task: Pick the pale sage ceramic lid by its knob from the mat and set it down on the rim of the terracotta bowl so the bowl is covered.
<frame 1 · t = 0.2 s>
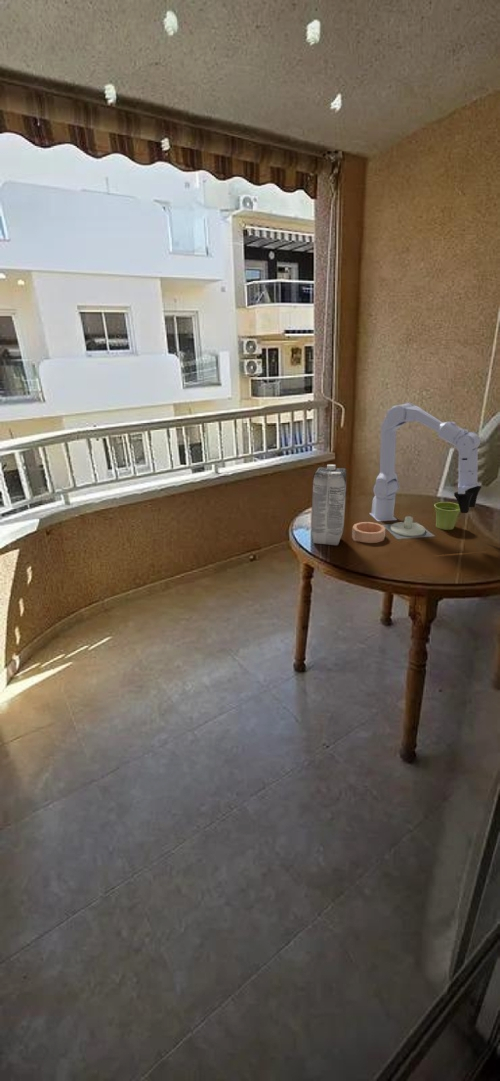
hand: (467, 509, 149), 11 cm above the table, tool pointing down, fingers open, 7 cm apart
mat: (407, 531, 160), on the table
lid: (407, 530, 160), point 1 cm above the table, touching mat
bowl: (368, 537, 156), on the table
plant pot: (444, 528, 163), on the table
juice carton: (327, 541, 155), on the table
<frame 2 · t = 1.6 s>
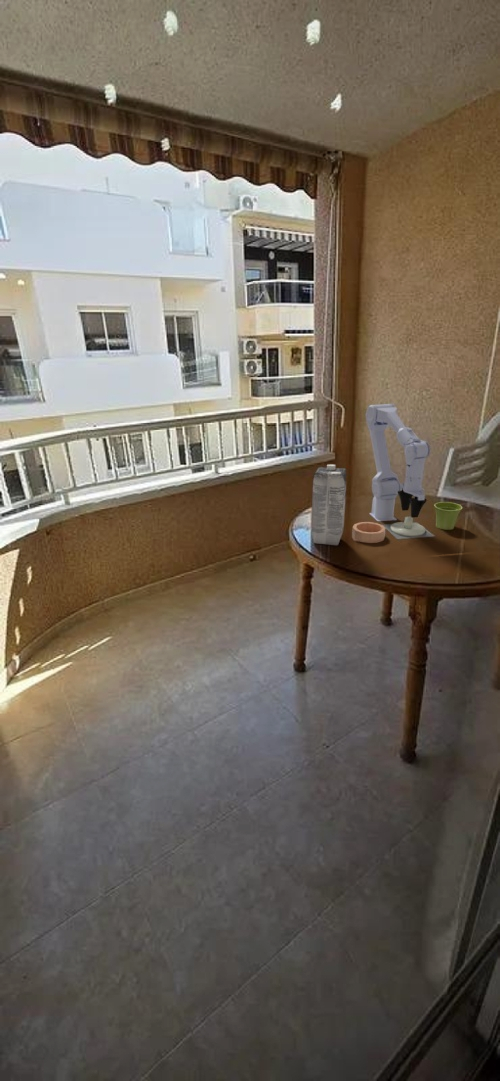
hand: (409, 513, 157), 7 cm above the table, tool pointing down, fingers open, 7 cm apart
nothing on the table moved.
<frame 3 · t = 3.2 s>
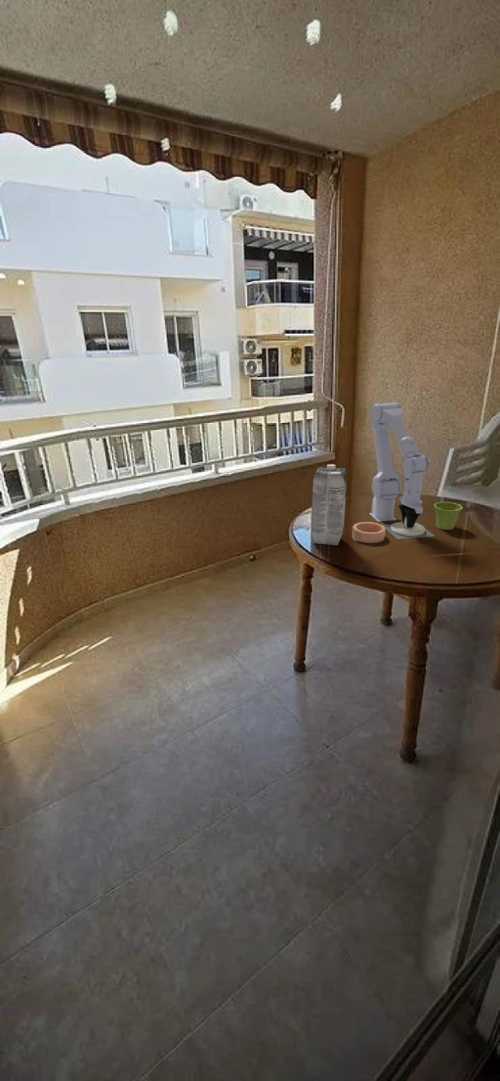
hand: (408, 525, 159), 2 cm above the table, tool pointing down, fingers closed on lid, 3 cm apart
lid: (407, 530, 160), point 1 cm above the table, touching gripper, mat
everything else where it was.
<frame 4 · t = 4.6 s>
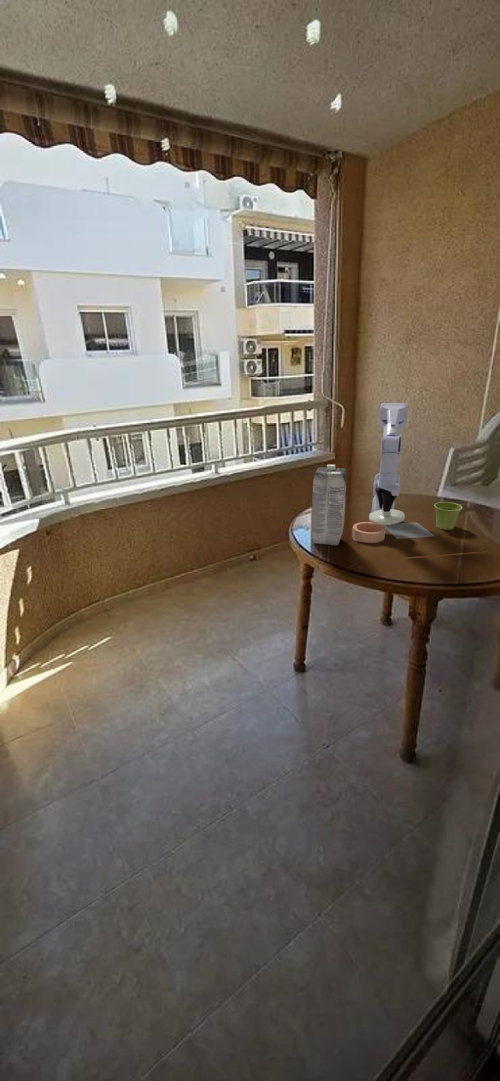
hand: (384, 509, 153), 10 cm above the table, tool pointing down, fingers closed on lid, 3 cm apart
lid: (386, 518, 155), point 7 cm above the table, tilted 7°, touching gripper
everything else where it was.
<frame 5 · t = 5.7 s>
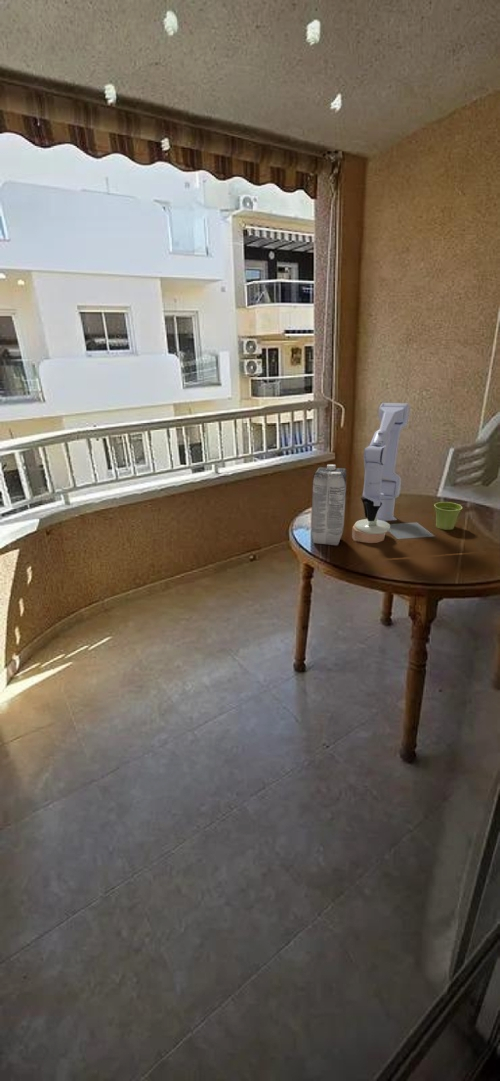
hand: (369, 519, 153), 7 cm above the table, tool pointing down, fingers closed on lid, 3 cm apart
lid: (372, 527, 154), point 4 cm above the table, touching bowl, gripper
everything else where it was.
when the fingers open (7 cm above the table, at t = 6.1 s): lid stays where it is, resting on bowl.
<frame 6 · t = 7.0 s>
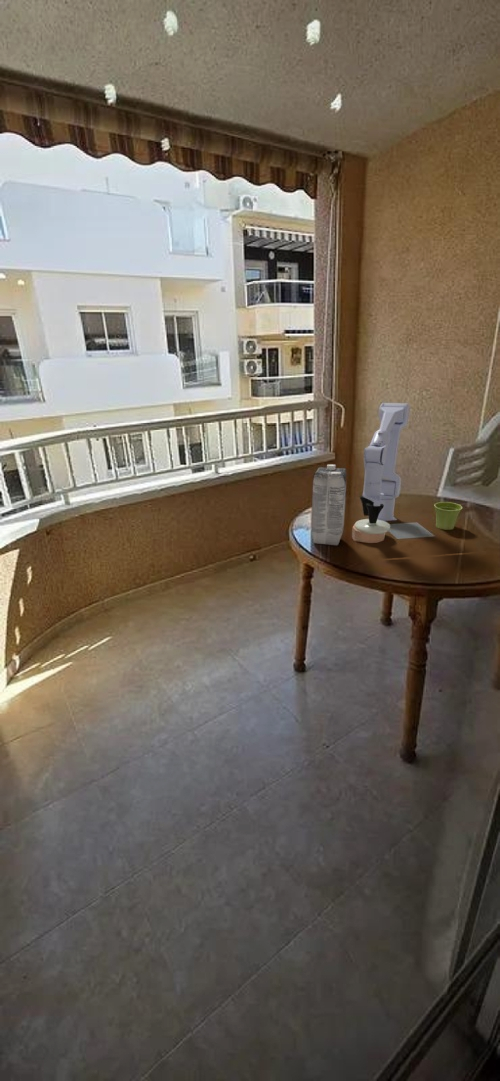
hand: (369, 519, 153), 7 cm above the table, tool pointing down, fingers open, 7 cm apart
lid: (372, 527, 154), point 4 cm above the table, touching bowl
everything else where it was.
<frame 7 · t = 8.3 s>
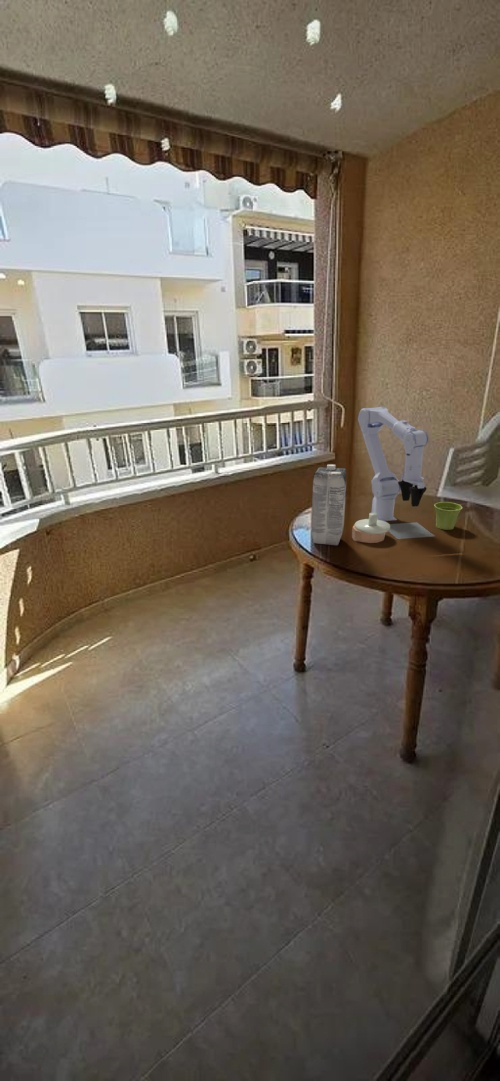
hand: (410, 503, 158), 10 cm above the table, tool pointing down, fingers open, 7 cm apart
nothing on the table moved.
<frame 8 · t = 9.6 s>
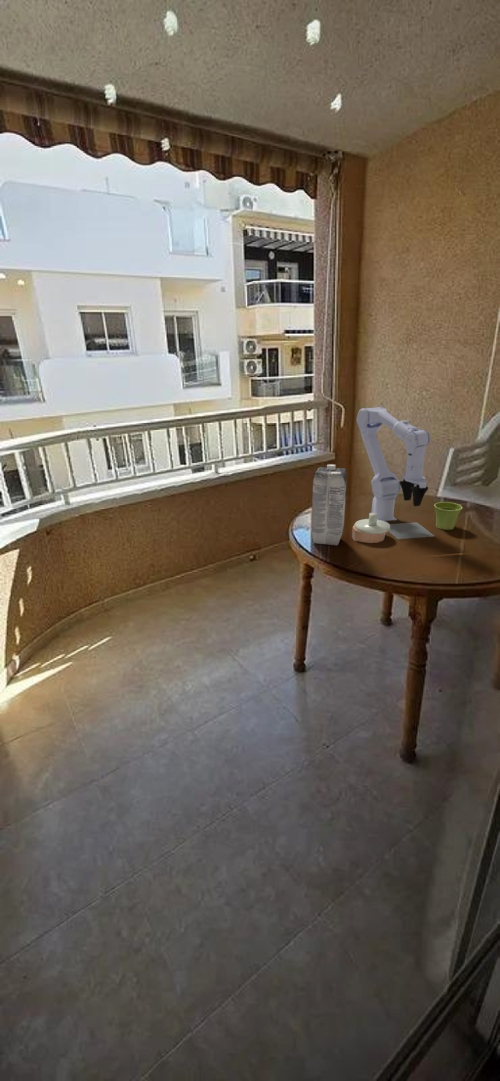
hand: (411, 503, 158), 10 cm above the table, tool pointing down, fingers open, 7 cm apart
nothing on the table moved.
at the end: lid 1.2 cm off-centre on the bowl, point 4.0 cm above the bowl's base; lid tilted 0°; the gripper is holding nothing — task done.
